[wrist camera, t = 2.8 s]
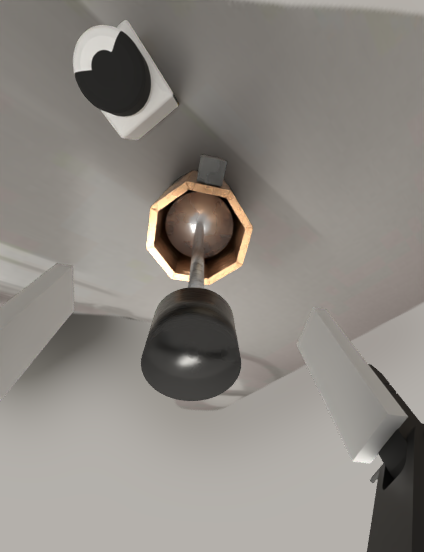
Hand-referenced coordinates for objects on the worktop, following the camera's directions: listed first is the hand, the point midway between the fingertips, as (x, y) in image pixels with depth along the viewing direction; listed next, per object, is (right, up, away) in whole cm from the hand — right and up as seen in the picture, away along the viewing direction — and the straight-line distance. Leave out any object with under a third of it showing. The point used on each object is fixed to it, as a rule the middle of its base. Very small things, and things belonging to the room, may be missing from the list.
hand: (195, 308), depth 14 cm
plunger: (0, +8, +16) cm, 17 cm away
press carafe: (0, +13, +24) cm, 27 cm away
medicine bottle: (-8, +24, +18) cm, 31 cm away
